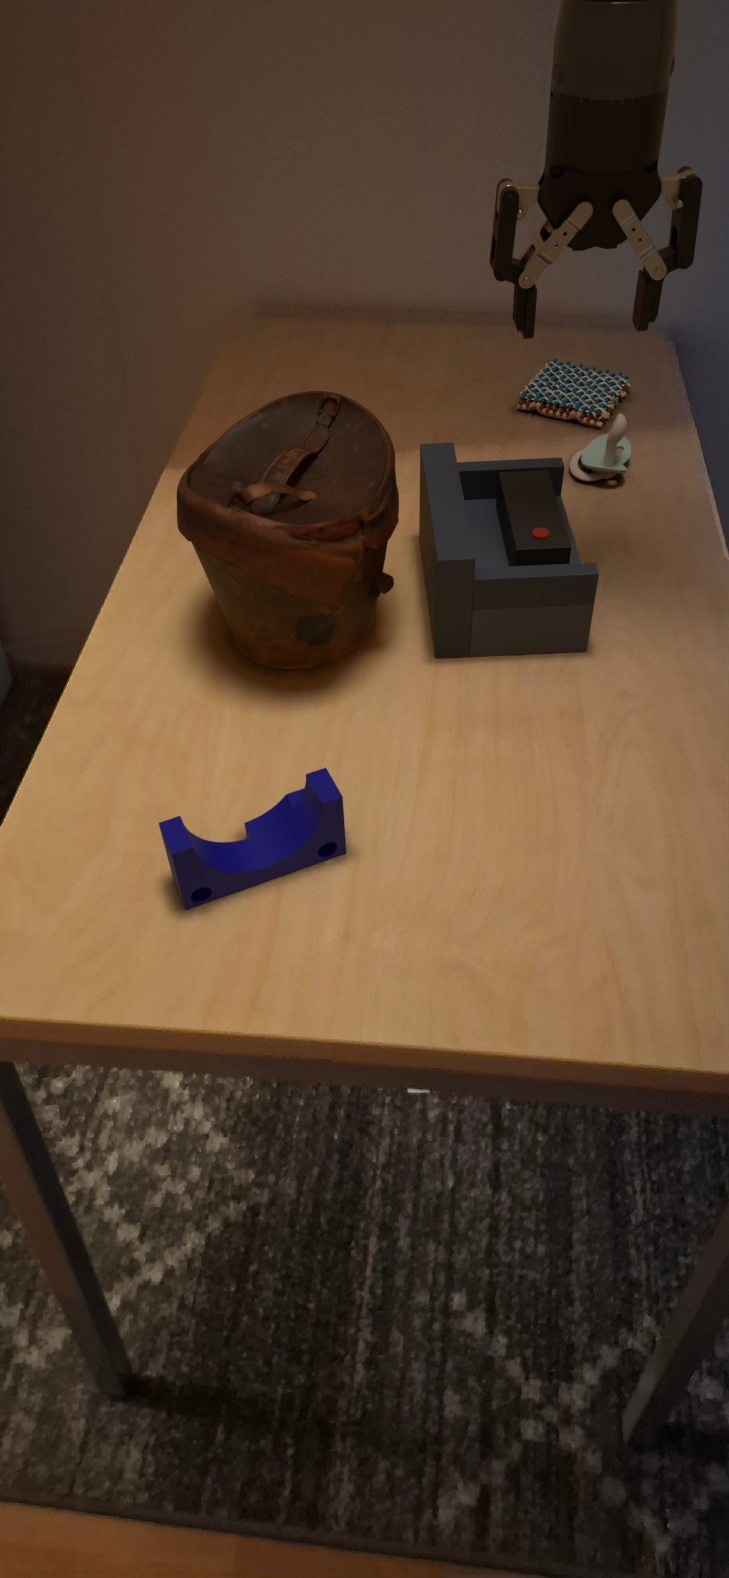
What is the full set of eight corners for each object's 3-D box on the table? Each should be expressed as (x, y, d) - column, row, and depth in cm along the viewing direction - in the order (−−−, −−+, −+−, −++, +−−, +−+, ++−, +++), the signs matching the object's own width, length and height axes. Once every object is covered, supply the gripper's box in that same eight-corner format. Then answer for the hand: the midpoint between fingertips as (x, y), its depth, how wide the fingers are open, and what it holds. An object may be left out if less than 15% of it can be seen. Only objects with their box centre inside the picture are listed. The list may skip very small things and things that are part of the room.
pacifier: (563, 485, 107) (622, 491, 106) (568, 428, 102) (630, 434, 101) (574, 450, 112) (631, 455, 110) (580, 394, 107) (639, 399, 106)
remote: (544, 504, 95) (548, 467, 93) (566, 582, 87) (572, 544, 85) (495, 506, 95) (498, 470, 93) (513, 585, 87) (516, 547, 85)
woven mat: (511, 411, 118) (513, 394, 116) (547, 372, 124) (549, 355, 122) (600, 431, 114) (602, 414, 112) (632, 390, 120) (635, 373, 119)
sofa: (552, 532, 101) (564, 437, 94) (586, 651, 89) (602, 552, 82) (419, 538, 101) (420, 443, 94) (434, 658, 89) (437, 560, 82)
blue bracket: (322, 810, 77) (317, 753, 73) (346, 852, 75) (342, 796, 70) (167, 863, 74) (152, 807, 70) (185, 909, 72) (171, 854, 67)
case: (205, 717, 85) (168, 527, 72) (194, 573, 98) (161, 391, 85) (421, 689, 86) (424, 498, 73) (380, 552, 100) (377, 370, 87)
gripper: (705, 55, 69) (664, 304, 81) (491, 69, 69) (482, 316, 81) (738, 85, 64) (689, 346, 76) (508, 100, 64) (495, 359, 76)
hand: (582, 330), depth 79 cm, fingers open, 8 cm apart
